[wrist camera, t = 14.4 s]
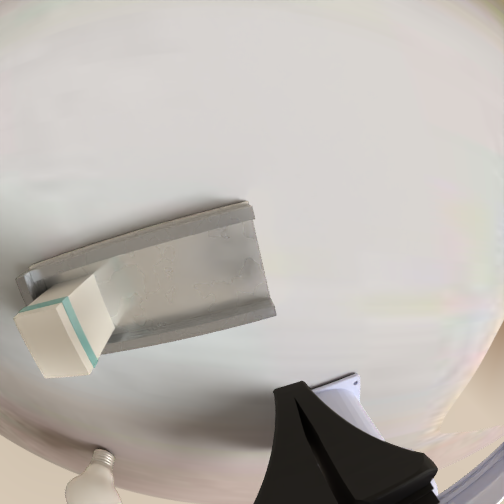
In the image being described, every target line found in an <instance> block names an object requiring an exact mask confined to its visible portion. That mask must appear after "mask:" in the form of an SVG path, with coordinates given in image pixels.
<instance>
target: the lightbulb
mask: <svg viewBox="0 0 504 504" xmlns="http://www.w3.org/2000/svg"><path fill="white" fill-rule="evenodd" d="M114 461H115V457H114V456H113V455H112V454H111V453H110V452H108V451H107V450H103V449H96V450H94V453H93V457H92V460H91V463H90V465H89V466H88V467H87V468H86V469H85V471H84V472H83V473H82V474H81V475H79V476H77V477H75V478H73V479H72V480H71V481H70V482H69V483H68V485H67V487H66V490H65V497H66V501H67V504H122V501H121V498H120V496H119V494H118V492H117V490H116V489H115V486H114V482H113V475H112V469H113V464H114Z"/></svg>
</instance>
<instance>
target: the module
mask: <svg viewBox="0 0 504 504" xmlns="http://www.w3.org/2000/svg"><path fill="white" fill-rule="evenodd" d="M13 319H14V321H15V323H16V326H17V328H18V330H19V332H20V334H21V336H22V338H23V340H24V342H25V344H26V346H27V348H28V349H29V351H30V353H31V355H32V357H33V358H34V360H35V362H36V364H37V365H38V367H39V369H40V370H41V372H42V374H43V375H44V377H45V378H59V377H71V376H82V375H90V373H91V371H92V369H93V368H95V366H96V364H97V362H98V358H99V356H100V354H101V352H102V350H103V349H104V347H105V345H106V343H107V341H108V340H109V338H110V336H111V334H112V332H113V331H114V329H115V327H114V324H113V322H112V320H111V317H110V315H109V313H108V310H107V308H106V306H105V303H104V301H103V298H102V296H101V293H100V290H99V288H98V285H97V283H96V280H95V277H94V274H90V275H86V276H83V277H79V278H76V279H72V280H69V281H65V282H62V283H58V284H55V285H53V286H52V287H50V288H49V289H48V290H47V291H45V292H44V293H43V294H42V295H40V296H39V297H38V298H37V299H35V300H34V301H33V302H32V303H30V304H29V305H28V306H27V307H24V308H23V309H22V310H21V311H19V314H17V315H16V316H15V317H14V318H13Z"/></svg>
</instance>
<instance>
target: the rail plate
mask: <svg viewBox="0 0 504 504" xmlns="http://www.w3.org/2000/svg"><path fill="white" fill-rule="evenodd" d="M253 219H255V216H254V212H253V207H252V206H251V205H249V202H248V201H244V202H240V203H236V204H232V205H228V206H224V207H220V208H216V209H212V210H208V211H204V212H200V213H197V214H193V215H189V216H185V217H182V218H178V219H174V220H171V221H167V222H164V223H160V224H157V225H153V226H150V227H146V228H143V229H140V230H136V231H133V232H130V233H126V234H123V235H120V236H116V237H113V238H110V239H107V240H104V241H101V242H97V243H94V244H91V245H88V246H85V247H82V248H79V249H76V250H73V251H70V252H67V253H64V254H62V255H59V256H56V257H53V258H50V259H47V260H45V261H42V262H39V263H36V264H34V265H32V266H30V267H29V269H30V270H29V271H27V272H25V273H24V274H22V275H21V276H19V277H17V278H16V282H17V284H18V287H19V290H20V292H21V295H22V297H23V300H24V302H25V304H26V307H27V306H28V305H29V304H30V303H32V302H33V301H34V300H35V299H37V298H38V297H39V296H40V295H42V294H43V293H44V292H45V291H47V290H48V289H49V288H50V287H52V286H53V285H55V284H58V283H62V282H65V281H69V280H72V279H76V278H79V277H83V276H86V275H90V274H94V277H95V280H96V283H97V285H98V288H99V290H100V293H101V296H102V298H103V301H104V303H105V306H106V308H107V310H108V313H109V315H110V317H111V320H112V322H113V324H114V327H115V329H114V331H113V332H112V334H111V336H110V338H109V340H108V341H107V343H106V345H105V347H104V349H103V350H102V352H101V354H100V355H102V354H108V353H114V352H120V351H126V350H131V349H137V348H142V347H147V346H152V345H157V344H162V343H167V342H172V341H177V340H181V339H186V338H190V337H195V336H199V335H203V334H208V333H212V332H216V331H220V330H224V329H228V328H232V327H236V326H240V325H244V324H248V323H251V322H255V321H259V320H263V319H266V318H270V317H273V316H277V315H276V311H275V306H274V304H273V302H272V300H271V298H270V294H269V290H268V285H267V281H266V276H265V272H264V268H263V263H262V259H261V254H260V250H259V245H258V241H257V237H256V232H255V228H254V223H253Z"/></svg>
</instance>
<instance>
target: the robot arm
mask: <svg viewBox="0 0 504 504" xmlns="http://www.w3.org/2000/svg"><path fill="white" fill-rule="evenodd" d="M355 381H356V382H355ZM273 393H274V397H275V406H276V418H275V432H274V440H273V446H272V452H271V456H270V460H269V464H268V468H267V471H266V474H265V477H264V480H263V483H262V485H261V488H260V490H259V493H258V495H257V498H256V500H255V502H254V504H499V503H500V502H501V501H502V500H503V499H504V442H503V443H502V444H501V445H500V446H499V447H498V448H497V449H496V450H495V451H494V452H493V453H491V454H490V455H489V456H488V457H487V458H486V459H485V460H484V461H482V462H481V463H480V464H479V465H478V466H477V467H475V468H474V469H473V470H472V471H471V472H469V473H468V474H467V475H466V476H464V477H463V478H462V479H460V480H459V481H458V482H456V483H455V484H454V485H452V486H451V487H449V488H448V489H446V490H445V491H444V492H442V493H441V494H438V489H437V485H436V483H435V481H434V476H435V475H436V473H437V471H438V468H437V466H436V465H435V464H434V462H433V461H432V460H431V459H430V458H429V457H427V456H426V455H425V454H424V453H420V452H416V451H413V450H412V449H407V448H403V447H402V448H401V447H398V446H395V445H393V444H390V443H388V442H386V441H385V440H384V438H383V437H382V435H381V434H380V432H379V431H378V429H377V428H376V426H375V425H374V423H373V422H372V420H371V419H370V417H369V416H368V414H367V413H366V411H365V410H364V408H363V406H362V405H361V403H360V376H359V375H358V374H353V375H351V376H348V377H346V378H343V379H340V380H338V381H335V382H332V383H330V384H327V385H324V386H321V387H318V388H315V389H312V390H311V389H310V388H309V387H308V385H307V384H306V383H305V382H304V381H300V382H297V383H294V384H290V385H287V386H284V387H280V388H277V389H275V390H274V391H273Z"/></svg>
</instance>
